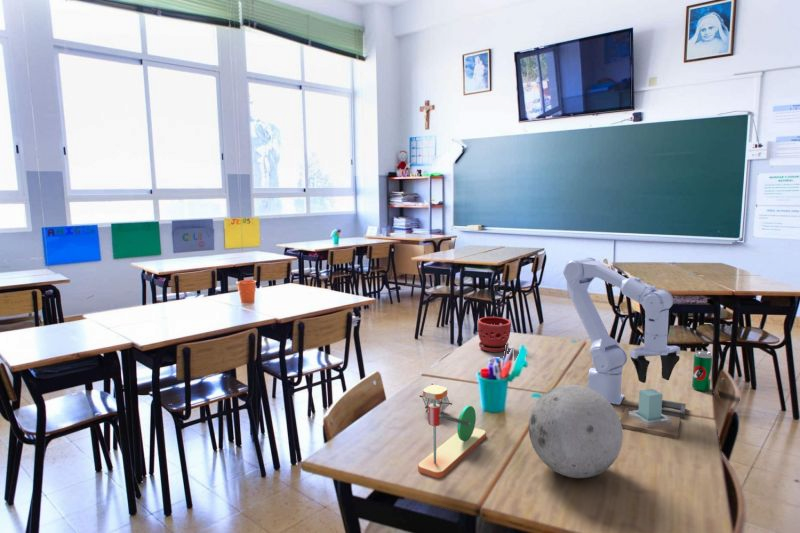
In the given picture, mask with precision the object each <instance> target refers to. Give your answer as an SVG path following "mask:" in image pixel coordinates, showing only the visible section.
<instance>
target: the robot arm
mask: <svg viewBox="0 0 800 533" xmlns="http://www.w3.org/2000/svg"><path fill="white" fill-rule="evenodd" d="M562 272H563V276H564V278H565V280H566V289H567V294H568V295H569V298H570V299H571V302H572V303H573V305H574V309H575V310H576V312H577V315H578V316H579V318H580V320H581V321H580V322H581V323H582V325H583V327H584V329H585V331H586V333H587V335H588V338H589V339H590V342H591V346H590V348H589V354H590V356H591V362H592V365H593V367H590V368H589V370H588V376H587V388H590V389H592V390H594V391H596V392H597V393H599V394H601V395H602V396H603V397H604V398H606V399H607V400H608V401H609V403H610V404H611V405H618V406H619V405H621V403H622V401H623V398H624V397H625V394H622V382H623V380H622V379H623V368H624V367H623V366H625V365H626V364H627V362H628V355H627V352H626V350H625V349H624V348H622V347H621V345H620V344H619V343H618V341H617V340H616V339H614V338H613V337H611V336H610V334H609V332H608V330H607V328H606V326H605V324H604V322H603V320H602V318H601V316H600V314H599V312H598V310H597V308H596V305H595V303H594V302H593V300H592V298H591V296H590V293H589V292H588V289H589V287H590V284H591V283H592V282H593V281H594V279H595V278H597V279H600V280H602V281H604V282H606V283H609V284H610V285H613V286H614V287H617V288H619V289H620V290H621V294H622V295H623V296H626V297H628V298H629V299H631V300H633V301H635V302H636V303H638V304H640V305H641V306H642V308H643V310H644V314H645V316H644V317H645V319H644V320H645V323H644V338H643V339H644V341H643V342H644V343H643V344H644V345H643V346H641V347H638V348H635V349H630V350H629V357H630V359H631V361H632V363H633V365H634V368H635V370H636V374H637V375H636V376H637V378H638V382H640V383H643V384H645V383H646V382H647V374H648V368H649V366H650V363H651V361H650V360H647V358H646V357H655V356H660V361H661V378H662V379H663V380H666V381H670V378H671V375H672V373H673V370H674V368H675V366H676V364H677V363H678V362H679V361H680V355H681V347H680V346H678V345H668V336H669V335H668V334H669V332H668V331H669V315H670V314H669V313H670V312H669V311H670V309H671V307H672V306H673V305H674V298H673V295H672V294H671V293H670V292H669V291H668V290H667V289H664V288H663V289H657V287H656V286H655V285H649V284H648V283H645V282H644V281H642V279H641V277H638V276H637V277H636V276H635V277H634V276H632V277H628V278H627V277H625V276H623V275H622V274H620V273H619V272H617V271H615V270H613V269H612V268H610V267H608V266H606V265H605V264H603V262H601V261H600V260H596V259H595V258H593V257H586V258H581V259H580V258H579V259H571V260H569V261H567V262H566V264H565V266H564V269H563V271H562Z"/></svg>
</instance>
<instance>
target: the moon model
mask: <svg viewBox="0 0 800 533" xmlns="http://www.w3.org/2000/svg"><path fill="white" fill-rule="evenodd" d="M620 419H621V418H620V417H619V414H618V413H617V410H616V409H615V408H614V406H613V404H612V403H609V401H608V400H607V399H606V398H604V397H603V396H602V395H601V394H599V393H597V392H596V391H594V390H592V389H590V388H588V386H583V385H576V384H565V385H559V386H556V387H554V388H552V389H550V390H548V391H547V392H545V393H543V394H542V395H541V396H540V397H539V399H538V400H537V401H536V402H535V404H534V405H533V407H532V410H531V413H530V416H529V420H528V435H529V439H530V443H531V446H532V448H533V449H534V452H535V453H536V455H537V456H538V458H539V459H540V460H541V461H542V463H544V465H545V466H547V467H548V468H550V470H552V471H554V472H556V473H558V474H560V475H561V476H565V477H568V478H574V479H586V478H592V477H596V476H597V475H600V474H602V473H603V472H605V471H606V470H608V469H609V468H610V467H611V466H612V465H613V464H614V462H615V461H616V460H617V458H618V456H619V454H620V452H621V449H622V446H623V438H624V436H623V428H622V426H621V422H620Z"/></svg>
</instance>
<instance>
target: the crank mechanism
mask: <svg viewBox="0 0 800 533" xmlns="http://www.w3.org/2000/svg"><path fill="white" fill-rule="evenodd" d="M446 395H447V396H448V388H447V387H446V386H442V385H438V384H433V385H432V384H430V385H428V386H426V387H425V388H423V390H422V396H424V397H425V398H429V399H433V404H430V405H429V406H428V408H429V411H428V424H429V426H431V427H433V451H432V452H430V454H429V455H428V456H426V457H425V458H423V459H422V460H421V461H420V462H419V463H418V464H417V471H418V472H419V473H421V474H423V475H426V476H428V477H433V478H437V479H440V478H443V477H445V475H447V474H448V473H449V472H450V471H451V470H452V469H453V468H454V467H456V466H457V465H458V464H459V463H460V462H461V461H462V460H463V459H464V458H465V457H467V456H468V454H470V453H471V452H472V451H473V450H474V449H475V448H476V447H478V445H480V444H481V443H482V442H483V441H484V440H485V439H486V438H487V432H486V430H484V429H481V428H477V427H476V422H477V419H476V416H477V415H476V410H475V408H474V407H473V406H472V405H466V406H465V407H464V408H463V409H462V411H461V412H460V414H459V418H456V417H453V416H449V415H446V414H442V413H440V405H439V404H436V400H440V399H442V398H444V397H445V396H446ZM442 419H443V420H446V421H450V422H452V423H454V422H455V423H457V427H456V428H457V432H456V433H454V434H453V435H451V437H449V438H448V439H447V440H446V441H444V442H443V443H441V444H440V445H439V446H438V447H437V435H436V434H437V427H438V426H440V425H441V420H442Z"/></svg>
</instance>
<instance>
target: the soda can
mask: <svg viewBox="0 0 800 533" xmlns="http://www.w3.org/2000/svg"><path fill="white" fill-rule="evenodd" d="M692 364H693V365H692V366H693V367H692V380H691V387H692V389H693V390H695V391H697V392H698V391H699V392H708V391H710V390H711V383H712V382H711V381H712V370H713V369H712V368H713V367H712V366H713V355H712V352H709V351H707V350H696V351H695V353H694V354H693V363H692Z"/></svg>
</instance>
